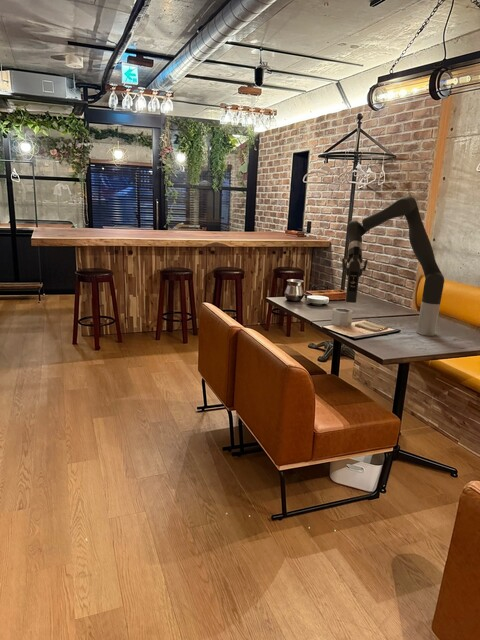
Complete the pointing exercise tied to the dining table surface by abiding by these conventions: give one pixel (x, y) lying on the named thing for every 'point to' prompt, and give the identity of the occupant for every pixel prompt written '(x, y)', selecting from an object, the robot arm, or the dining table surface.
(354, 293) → the wine bottle
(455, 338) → the dining table surface
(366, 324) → the oak board
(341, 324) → the wooden sleeve
